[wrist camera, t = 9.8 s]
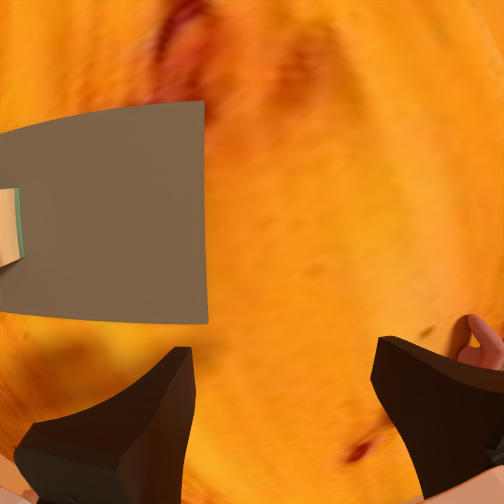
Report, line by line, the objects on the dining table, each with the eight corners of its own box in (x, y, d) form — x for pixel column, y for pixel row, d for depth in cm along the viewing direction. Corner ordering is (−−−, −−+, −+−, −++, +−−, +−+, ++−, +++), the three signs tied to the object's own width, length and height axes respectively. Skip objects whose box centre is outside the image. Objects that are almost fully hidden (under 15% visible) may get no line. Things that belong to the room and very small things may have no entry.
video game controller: (408, 395, 25) (449, 441, 20) (397, 391, 22) (444, 446, 17) (474, 320, 24) (520, 361, 19) (472, 305, 21) (526, 352, 16)
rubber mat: (-23, 305, 19) (-27, 307, 19) (-38, 149, 16) (-42, 148, 16) (208, 320, 20) (207, 324, 20) (204, 103, 17) (203, 100, 17)
